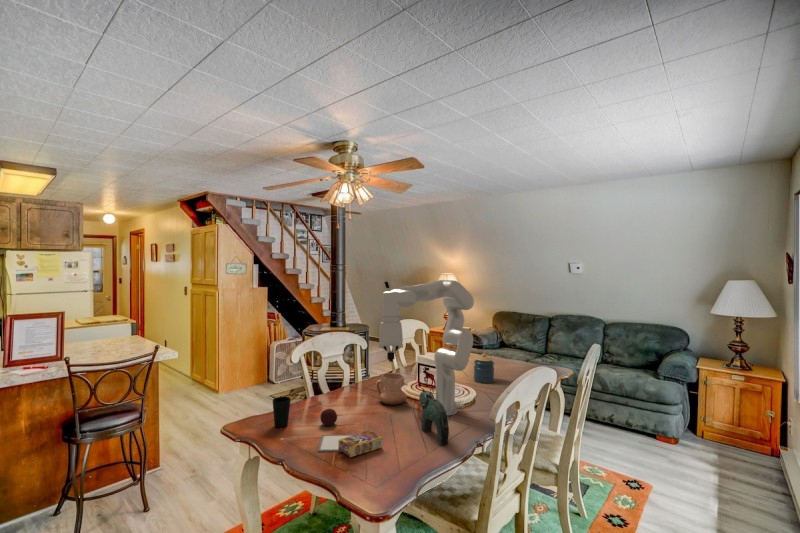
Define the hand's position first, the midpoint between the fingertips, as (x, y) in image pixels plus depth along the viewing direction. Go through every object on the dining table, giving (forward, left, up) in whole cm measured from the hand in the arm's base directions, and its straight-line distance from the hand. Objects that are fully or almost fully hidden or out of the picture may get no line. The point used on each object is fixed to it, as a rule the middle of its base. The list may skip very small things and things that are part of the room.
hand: (390, 361), depth 173 cm
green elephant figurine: (-19, +6, -31) cm, 37 cm away
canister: (-64, -74, -31) cm, 103 cm away
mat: (+18, +12, -31) cm, 37 cm away
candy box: (+6, +13, -28) cm, 31 cm away
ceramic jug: (-3, -36, -31) cm, 48 cm away
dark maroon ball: (+27, -7, -31) cm, 42 cm away
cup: (+48, -6, -31) cm, 58 cm away
